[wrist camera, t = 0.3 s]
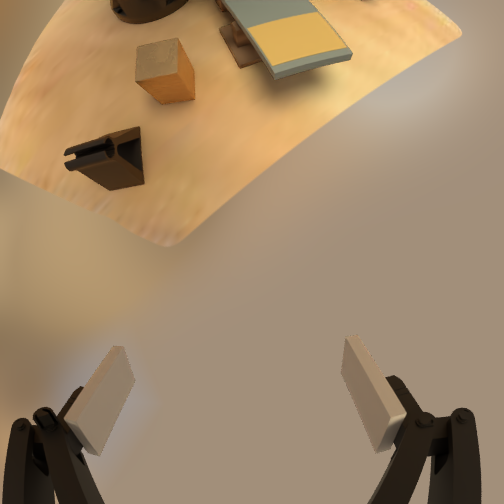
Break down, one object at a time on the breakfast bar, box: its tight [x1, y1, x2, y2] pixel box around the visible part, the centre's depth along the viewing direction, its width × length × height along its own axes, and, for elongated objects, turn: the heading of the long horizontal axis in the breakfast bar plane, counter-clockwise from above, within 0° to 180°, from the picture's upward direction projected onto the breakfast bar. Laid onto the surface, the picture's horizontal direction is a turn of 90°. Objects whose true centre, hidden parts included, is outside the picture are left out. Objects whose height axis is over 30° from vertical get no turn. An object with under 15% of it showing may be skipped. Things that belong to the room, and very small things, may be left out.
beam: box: [221, 0, 353, 80], centre depth 24 cm, size 22×10×4 cm, turn 24°
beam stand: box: [216, 0, 263, 68], centre depth 29 cm, size 15×13×6 cm
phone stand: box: [64, 126, 144, 191], centre depth 31 cm, size 9×6×12 cm, turn 5°
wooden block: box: [135, 38, 195, 105], centre depth 29 cm, size 5×5×11 cm
